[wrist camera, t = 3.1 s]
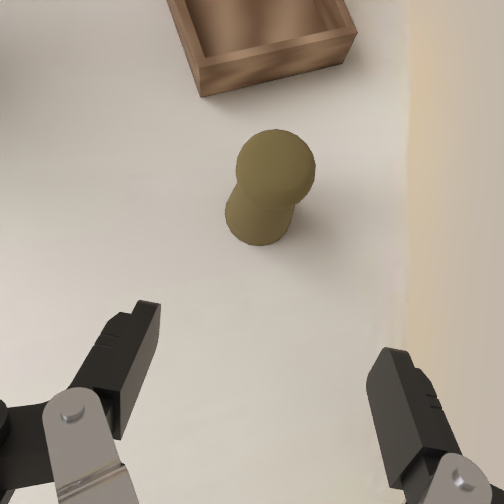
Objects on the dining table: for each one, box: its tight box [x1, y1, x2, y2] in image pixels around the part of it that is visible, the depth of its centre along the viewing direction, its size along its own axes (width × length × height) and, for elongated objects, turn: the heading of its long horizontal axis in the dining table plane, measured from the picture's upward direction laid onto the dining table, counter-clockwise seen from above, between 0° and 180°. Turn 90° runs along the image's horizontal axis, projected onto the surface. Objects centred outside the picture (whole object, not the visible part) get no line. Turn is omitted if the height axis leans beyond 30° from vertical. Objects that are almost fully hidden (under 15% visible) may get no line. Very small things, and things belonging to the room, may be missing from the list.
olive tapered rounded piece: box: [225, 129, 316, 246], centre depth 27 cm, size 6×6×11 cm
